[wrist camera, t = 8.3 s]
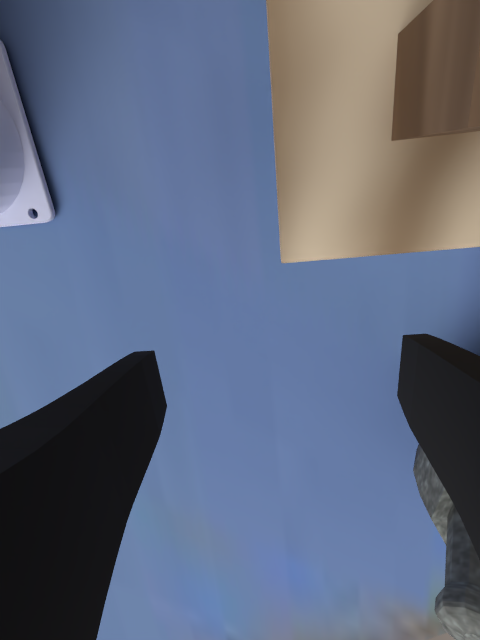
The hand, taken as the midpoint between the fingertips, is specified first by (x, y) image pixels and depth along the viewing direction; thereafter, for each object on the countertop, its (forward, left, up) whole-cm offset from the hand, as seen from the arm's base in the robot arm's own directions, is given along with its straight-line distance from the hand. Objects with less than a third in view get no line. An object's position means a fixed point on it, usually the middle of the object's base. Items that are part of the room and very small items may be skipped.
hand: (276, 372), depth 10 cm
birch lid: (+6, +7, -6) cm, 11 cm away
